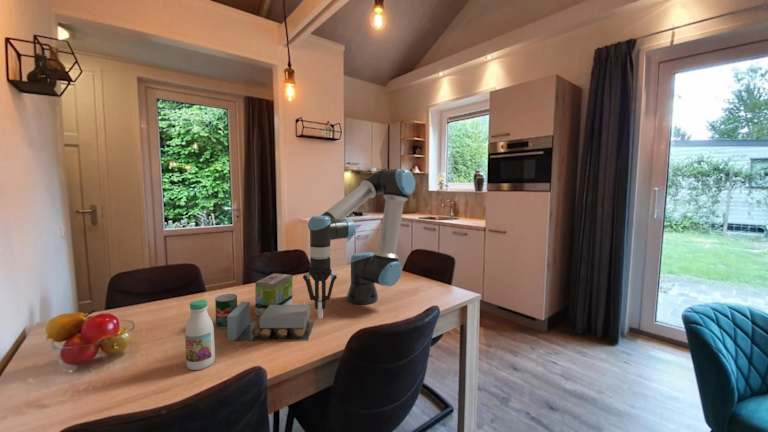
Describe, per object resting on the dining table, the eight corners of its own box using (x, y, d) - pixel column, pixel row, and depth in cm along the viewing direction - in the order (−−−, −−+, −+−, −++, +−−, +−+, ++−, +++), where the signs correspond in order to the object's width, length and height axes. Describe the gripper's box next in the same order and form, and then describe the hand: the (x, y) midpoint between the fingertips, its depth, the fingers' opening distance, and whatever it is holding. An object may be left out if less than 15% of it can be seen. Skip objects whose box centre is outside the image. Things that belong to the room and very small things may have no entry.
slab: (310, 314, 130) (310, 304, 129) (304, 327, 118) (304, 317, 117) (269, 314, 129) (269, 305, 128) (259, 328, 117) (259, 317, 116)
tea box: (276, 318, 136) (275, 283, 134) (254, 315, 138) (254, 281, 136) (293, 305, 150) (292, 274, 149) (273, 303, 152) (273, 272, 151)
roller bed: (314, 322, 132) (314, 313, 131) (308, 340, 117) (308, 330, 116) (249, 323, 130) (249, 314, 130) (234, 341, 115) (234, 331, 115)
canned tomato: (215, 329, 124) (214, 302, 123) (215, 321, 131) (214, 295, 130) (238, 325, 127) (237, 299, 126) (237, 318, 134) (236, 292, 133)
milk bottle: (194, 357, 104) (191, 297, 102) (219, 357, 105) (217, 297, 103) (181, 371, 96) (178, 306, 94) (208, 370, 97) (205, 306, 95)
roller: (263, 315, 128) (270, 319, 128) (259, 321, 128) (265, 326, 128) (254, 326, 118) (262, 331, 118) (250, 333, 118) (257, 338, 118)
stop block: (250, 323, 130) (249, 301, 129) (236, 340, 116) (235, 316, 115) (242, 323, 129) (241, 301, 128) (227, 340, 115) (227, 316, 115)
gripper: (338, 254, 126) (338, 313, 128) (304, 254, 125) (304, 313, 127) (336, 259, 118) (336, 321, 121) (300, 259, 117) (301, 321, 120)
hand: (320, 317), depth 124 cm, fingers closed
